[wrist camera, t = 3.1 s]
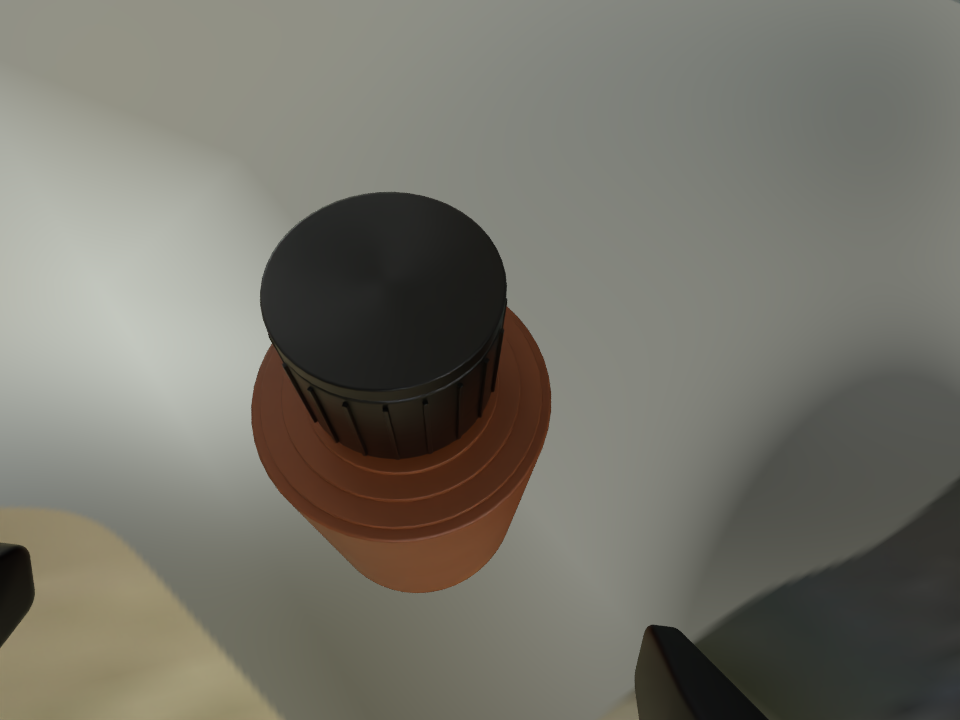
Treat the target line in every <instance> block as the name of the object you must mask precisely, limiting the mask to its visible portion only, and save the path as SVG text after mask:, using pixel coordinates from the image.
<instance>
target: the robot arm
mask: <svg viewBox="0 0 960 720" xmlns="http://www.w3.org/2000/svg"><path fill="white" fill-rule="evenodd" d="M34 596H35V589H34V581H33V574H32V567H31V560H30V554H29V552H28V550H27V549H26V548H25V547H23V546H21V545H15V544H7V543H0V648H1V646H2V645H3V644H4V642H5V641H6V640H7V638H8V637H9V636H10V635H11V633H12V632H13V631H14V629H15V628H16V627H17V625H18V624H19V623H20V622H21V620H22V619H23V618H24V616H25V615H26V614H27V612H28V611H29V609H30V607H31V605H32V603H33V600H34ZM635 691H636V699H637V706H638V714H639V720H768V719H767V718H766V717H765V716H764V715H763V714H762V713H761V712H760V711H759V709H758V708H757V707H756V706H755V705H754V704H753V703H752V702H751V701H750V700H749V699H748V698H747V697H746V696H745V695H744V694H743V693H742V692H741V691H740V690H739V689H738V688H737V687H736V686H735V685H734V684H733V683H732V682H731V681H730V680H729V679H728V678H727V677H726V676H725V675H724V674H723V673H722V672H721V671H720V670H719V669H718V668H717V667H716V666H715V665H714V664H713V663H712V662H711V661H710V660H709V659H708V658H707V657H706V656H705V655H704V654H703V653H702V652H701V651H700V650H699V649H698V648H697V647H696V646H695V645H694V644H693V643H692V642H691V641H690V640H689V639H688V638H687V637H686V636H685V635H684V634H683V633H682V632H681V631H679V630H678V629H676V628H674V627H667V626H658V625H650V626H648V627H647V629H646V630H645V633H644V636H643V641H642V645H641V649H640V653H639V657H638V662H637V666H636V670H635Z"/></svg>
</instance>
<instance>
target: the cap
mask: <svg viewBox="0 0 960 720" xmlns="http://www.w3.org/2000/svg"><path fill="white" fill-rule="evenodd" d="M506 291H507V283H506V274H505V270H504V266H503V262H502V260H501V257H500V255H499V253H498V250H497V248H496V247H495V245H494V244H493V242H492V241H491V239H490V237H489V236H488V235H487V234H486V233H485V231H483V229H482V228H481V227H480V226H479V225H478V224H477V223H475V222H474V221H473V220H472V219H471V218H469V217H468V216H467V215H465V214H464V213H462V212H461V211H459V210H457V209H456V208H453V207H452V206H450V205H448V204H446V203H443V202H441V201H438V200H435V199H432V198H429V197H425V196H421V195H415V194H410V193H399V192H377V193H368V194H363V195H358V196H353V197H349V198H346V199H343V200H339V201H336V202H334V203H331V204H329V205H327V206H325V207H322V208H321V209H319V210H317V211H315V212H313V213H312V214H310V215H309V216H307V217H306V218H304V219H303V220H301V221H300V222H299V223H298V224H297V225H295V226H294V227H293V228H292V229H291V230H290V231H289V232H288V233H287V234H286V235H285V236H284V238H283V239H282V240H281V241H280V242H279V244H278V245H277V247H276V248H275V250H274V251H273V253H272V255H271V257H270V259H269V261H268V263H267V265H266V268H265V271H264V274H263V278H262V283H261V290H260V306H261V311H262V316H263V321H264V323H265V326H266V328H267V332H268V333H269V334H268V335H269V338H270V340H271V342H272V344H273V346H274V347H275V349H276V351H277V353H278V355H279V356H280V358H281V360H282V362H283V363H282V364H281V365H282V366H283V368H284V370H285V372H286V374H287V375H288V377H289V379H290V381H291V382H292V384H293V386H294V388H295V389H296V391H297V393H298V395H299V396H300V398H301V400H302V402H303V404H304V405H305V407H306V409H307V411H308V412H309V414H310V416H311V418H312V419H313V421H314V422H315V423H316V422H317V421H318V423H319V424H320V425H321V426H322V428H323V429H324V430H325V431H326V432H327V433H328V434H329V435H330V436H331V437H332V439H333V440H334V442H335V443H338V442H339V443H341V444H342V445H344V446H346V447H348V448H350V449H352V450H354V451H356V452H359V453H362V455H363V456H366V457H367V455H368V456H373V457H377V458H386V459H395V460H400V459H405V458H412V457H418V456H422V455H425V454H432V453H433V452H434V451H437V450H439V449H441V448H443V447H445V446H447V445H449V444H450V443H452V442H454V441H455V440H457V439H458V440H459V439H460V438H462V435H463V434H464V433H466V432H467V431H468V430H469V429H470V428H471V426H472V425H473V424H474V423H475V422H476V421H477V419H478V418H481V417H482V416H483V410H484V408H485V407H486V405H487V403H488V400H489V397H490V395H491V392H494V391H495V386H496V380H497V374H498V367H499V361H500V355H501V349H502V342H503V336H504V329H503V326H504V320H505V314H506V307H507V298H506Z"/></svg>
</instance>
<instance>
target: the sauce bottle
mask: <svg viewBox="0 0 960 720" xmlns="http://www.w3.org/2000/svg"><path fill="white" fill-rule="evenodd" d="M503 329H504V336H503V342H502V349H501V355H500V361H499V367H498V374H497V380H496V386H495V391H494V392H491V395H490V397H489V400H488V403H487V405H486V407H485V408H484V410H483V416H482V417H481V418H478V419H477V421H476V422H475V423H474V424H473V425H472V426H471V428H470V429H469V430H468V431H467V432H466V433H464V434H463V435H462V438H460V439H459V440H458V439H457V440H455V441H454V442H452V443H450V444H449V445H447V446H445V447H443V448H441V449H439V450H437V451H434V452H433V453H432V454H425V455H422V456H418V457H412V458H405V459H400V460H395V459H386V458H377V457H373V456H368V455H367V457H366V456H363V455H362V453H359V452H356V451H354V450H352V449H350V448H348V447H346V446H344V445H342V444H341V443H339V442H338V443H335V442H334V440H333V439H332V437H331V436H330V435H329V434H328V433H327V432H326V431H325V430H324V429H323V428H322V426H321V425H320V424H319V423H318V421H317V422H316V423H315V422H314V421H313V419H312V418H311V416H310V414H309V412H308V411H307V409H306V407H305V405H304V404H303V402H302V400H301V398H300V396H299V395H298V393H297V391H296V389H295V388H294V386H293V384H292V382H291V381H290V379H289V377H288V375H287V374H286V372H285V370H284V368H283V366H282V365H281V364H282V363H283V362H282V360H281V358H280V356H279V355H278V353H277V351H276V349H275V347H274V346H273V344H271V346H270V348H269V350H268V351H267V353H266V355H265V357H264V360H263V362H262V364H261V366H260V369H259V372H258V375H257V378H256V382H255V385H254V391H253V398H252V405H251V408H252V409H251V411H252V412H251V413H252V429H253V435H254V441H255V445H256V448H257V451H258V454H259V457H260V460H261V462H262V464H263V466H264V468H265V470H266V472H267V474H268V476H269V478H270V479H271V480H272V482H273V483H274V485H275V486H276V487H277V489H278V490H279V492H280V493H281V494H282V495H283V496H284V497H285V498H286V499H287V500H288V501H289V502H290V503H291V504H292V505H293V506H294V507H295V508H296V509H297V510H298V511H299V512H300V513H301V514H302V515H303V516H304V517H305V518H306V519H307V520H308V521H309V522H310V523H311V524H312V525H313V526H314V527H315V528H316V529H317V530H318V531H319V532H320V533H321V534H322V535H323V536H324V537H325V538H326V539H327V540H328V541H329V542H330V543H331V544H332V545H333V546H334V547H335V548H336V549H337V550H338V551H339V552H340V553H341V554H342V555H343V556H344V557H345V558H346V559H347V560H348V561H349V562H350V563H351V564H352V565H353V566H354V567H355V568H356V569H357V570H358V571H359V572H360V573H361V574H363V575H364V576H365V577H367V578H368V579H370V580H372V581H373V582H375V583H377V584H379V585H381V586H384V587H387V588H389V589H393V590H397V591H401V592H410V593H425V592H433V591H438V590H442V589H446V588H448V587H451V586H454V585H456V584H458V583H460V582H462V581H464V580H466V579H468V578H469V577H471V576H472V575H474V574H475V573H476V572H478V571H479V570H480V569H481V568H482V567H483V566H484V565H485V564H486V563H487V562H488V561H489V560H490V559H491V558H492V556H493V555H494V554H495V553H496V551H497V550H498V548H499V546H500V545H501V543H502V542H503V539H504V537H505V535H506V533H507V531H508V528H509V526H510V523H511V521H512V519H513V516H514V514H515V512H516V509H517V507H518V505H519V502H520V500H521V497H522V495H523V493H524V490H525V488H526V485H527V483H528V481H529V478H530V476H531V474H532V471H533V468H534V467H535V464H536V462H537V459H538V457H539V455H540V452H541V450H542V448H543V445H544V441H545V438H546V435H547V431H548V427H549V421H550V414H551V389H550V382H549V375H548V372H547V368H546V365H545V361H544V359H543V356H542V354H541V352H540V349H539V347H538V345H537V343H536V342H535V340H534V338H533V337H532V335H531V333H530V332H529V330H528V329H527V328H526V326H525V325H524V324H523V323H522V321H521V320H520V319H519V318H518V317H517V316H516V315H515V314H514V313H513V312H512V311H511V310H510V309H509V308H508V307H506V314H505V320H504V326H503Z"/></svg>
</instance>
